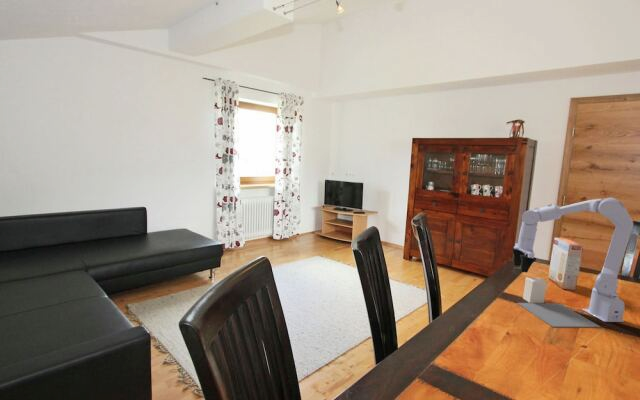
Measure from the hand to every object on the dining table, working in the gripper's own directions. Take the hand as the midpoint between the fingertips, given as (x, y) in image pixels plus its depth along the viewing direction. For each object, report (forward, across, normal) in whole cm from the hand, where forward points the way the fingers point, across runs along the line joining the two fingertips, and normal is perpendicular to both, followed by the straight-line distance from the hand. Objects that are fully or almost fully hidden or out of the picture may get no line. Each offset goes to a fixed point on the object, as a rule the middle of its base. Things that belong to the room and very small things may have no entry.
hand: (520, 268), depth 143 cm
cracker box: (+10, -16, +26) cm, 32 cm away
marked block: (+10, +8, +4) cm, 14 cm away
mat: (+10, +20, +7) cm, 23 cm away
